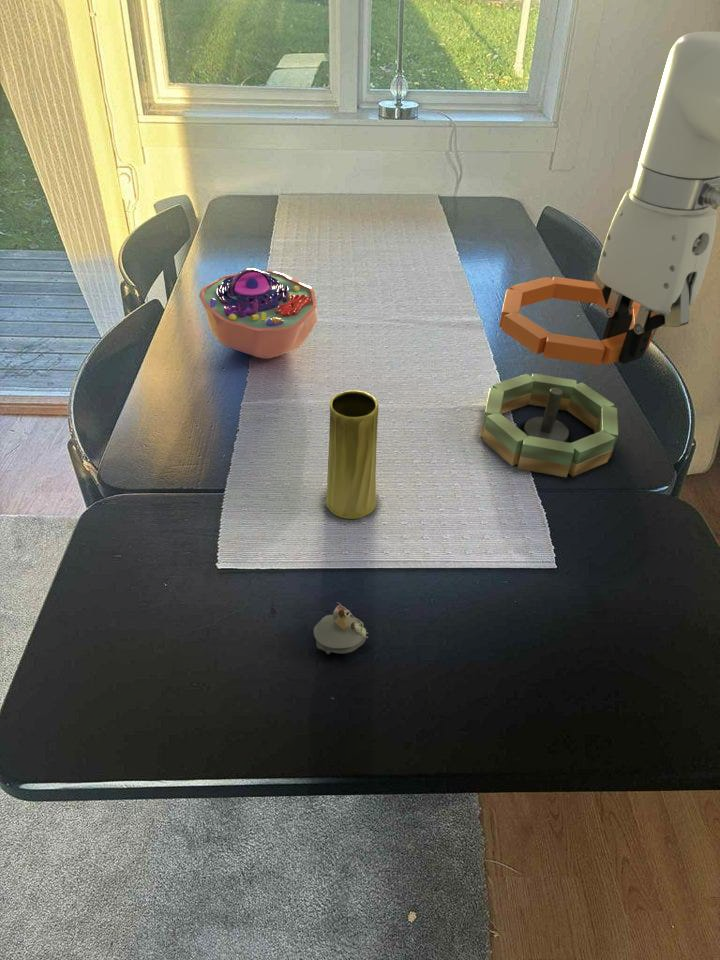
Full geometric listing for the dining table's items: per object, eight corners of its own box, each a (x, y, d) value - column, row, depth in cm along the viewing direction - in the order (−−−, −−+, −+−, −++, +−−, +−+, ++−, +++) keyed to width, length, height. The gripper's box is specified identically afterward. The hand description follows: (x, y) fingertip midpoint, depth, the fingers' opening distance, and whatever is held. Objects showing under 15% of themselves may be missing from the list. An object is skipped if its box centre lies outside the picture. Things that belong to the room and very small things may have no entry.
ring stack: (636, 449, 93) (652, 406, 88) (540, 491, 86) (552, 446, 82) (549, 387, 104) (559, 345, 99) (457, 419, 97) (464, 376, 92)
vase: (315, 505, 83) (313, 407, 74) (345, 478, 87) (347, 381, 77) (357, 527, 80) (361, 428, 71) (386, 498, 84) (393, 400, 75)
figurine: (311, 660, 67) (310, 621, 63) (316, 622, 70) (315, 583, 66) (366, 663, 67) (369, 624, 63) (368, 626, 70) (371, 586, 66)
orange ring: (677, 340, 82) (683, 325, 80) (570, 378, 75) (574, 362, 73) (574, 282, 92) (578, 268, 91) (472, 310, 86) (475, 295, 84)
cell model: (228, 389, 101) (220, 318, 93) (194, 326, 114) (185, 259, 107) (337, 367, 106) (337, 298, 99) (292, 308, 120) (289, 244, 112)
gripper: (772, 207, 63) (700, 380, 75) (637, 157, 73) (593, 316, 85) (718, 221, 60) (652, 398, 72) (585, 167, 70) (547, 330, 82)
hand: (620, 353), depth 79 cm, fingers closed on orange ring, 2 cm apart
